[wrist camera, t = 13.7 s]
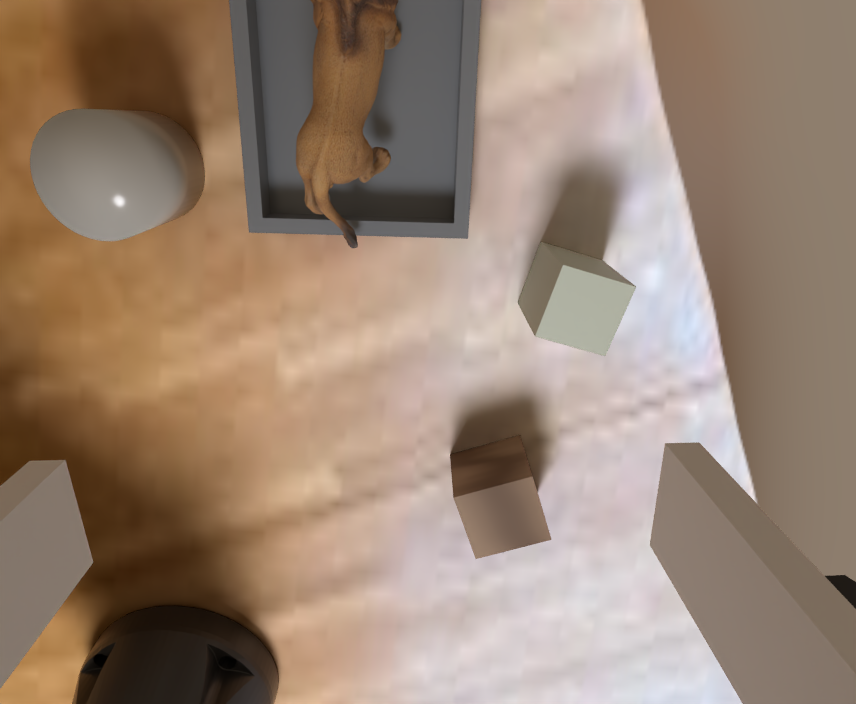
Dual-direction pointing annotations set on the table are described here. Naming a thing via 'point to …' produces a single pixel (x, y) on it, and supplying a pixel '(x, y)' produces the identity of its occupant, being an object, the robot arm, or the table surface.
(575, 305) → the sage block
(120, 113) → the pale grey rounded cylinder
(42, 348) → the table surface
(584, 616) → the table surface
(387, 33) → the lion figurine
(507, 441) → the walnut block
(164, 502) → the table surface
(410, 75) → the slate tray
